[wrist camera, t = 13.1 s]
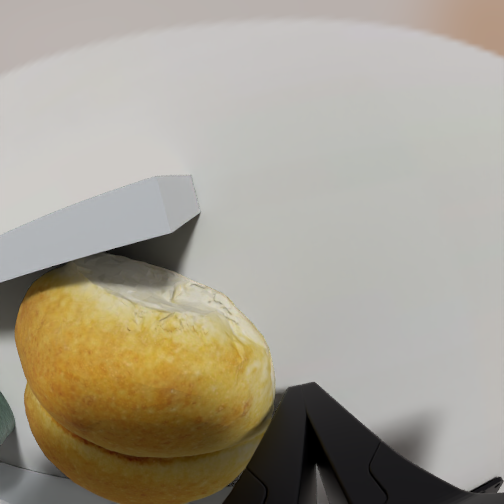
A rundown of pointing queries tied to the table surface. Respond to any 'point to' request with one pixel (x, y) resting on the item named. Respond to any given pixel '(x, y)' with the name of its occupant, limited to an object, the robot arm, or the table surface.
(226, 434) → the bread roll
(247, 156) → the table surface
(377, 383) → the table surface
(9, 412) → the tea tin
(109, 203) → the u-shaped frame
